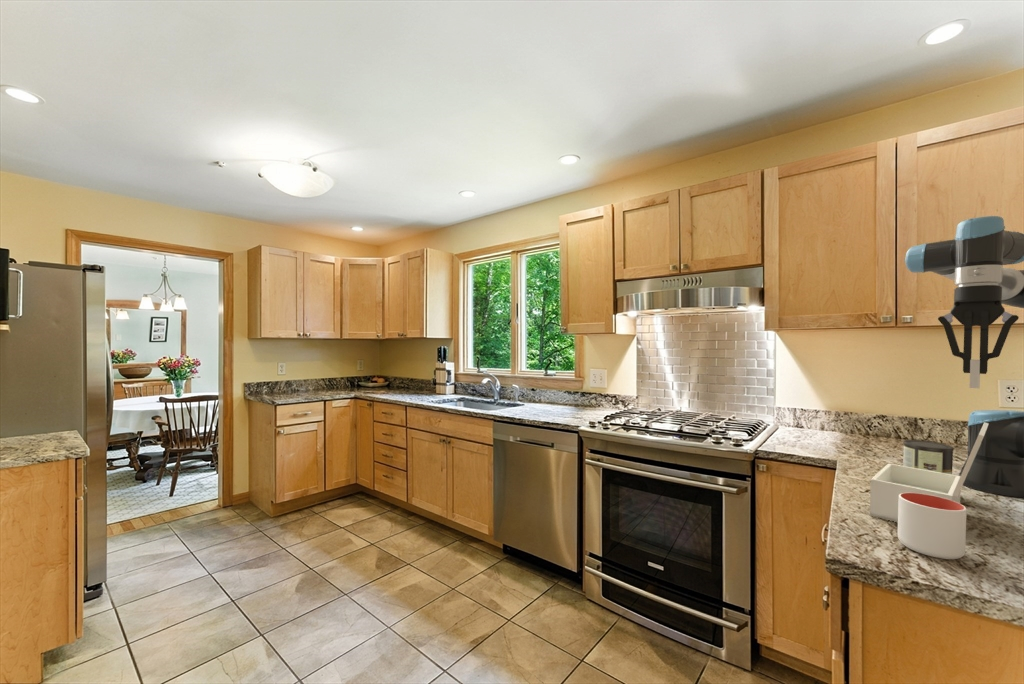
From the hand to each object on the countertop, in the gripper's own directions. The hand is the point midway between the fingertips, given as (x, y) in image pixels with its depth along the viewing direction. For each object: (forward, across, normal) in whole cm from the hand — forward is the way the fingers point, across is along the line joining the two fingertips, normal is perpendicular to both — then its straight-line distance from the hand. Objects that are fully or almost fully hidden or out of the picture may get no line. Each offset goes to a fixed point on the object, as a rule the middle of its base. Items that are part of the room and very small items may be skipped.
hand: (974, 387), depth 100 cm
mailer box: (+32, -9, 0) cm, 34 cm away
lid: (+16, 0, 0) cm, 16 cm away
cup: (+33, -5, -23) cm, 40 cm away
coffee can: (+33, -10, +22) cm, 40 cm away
